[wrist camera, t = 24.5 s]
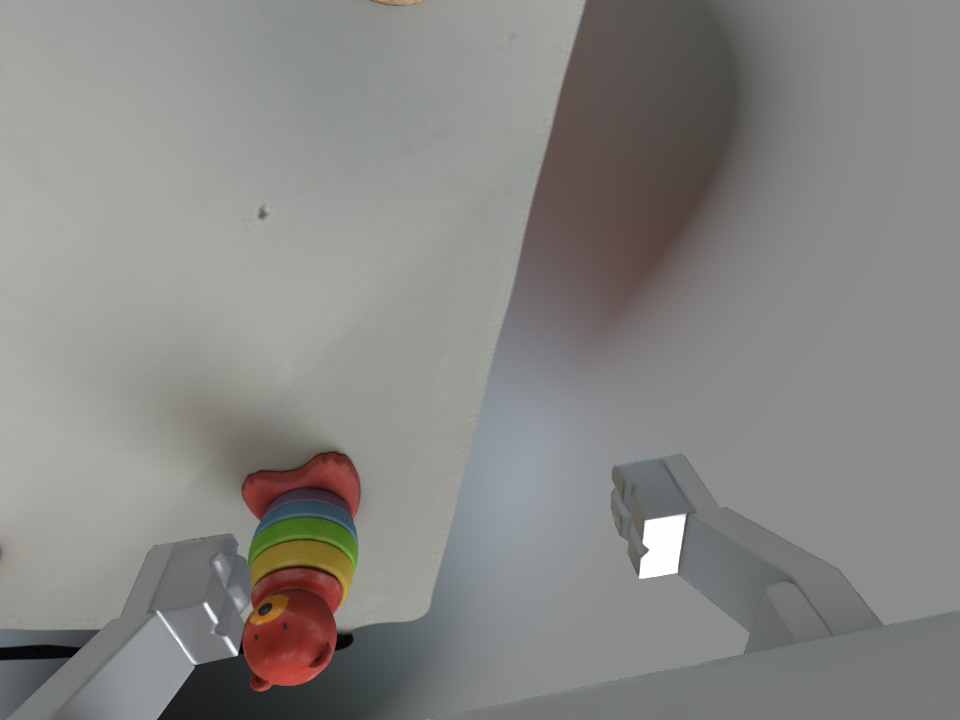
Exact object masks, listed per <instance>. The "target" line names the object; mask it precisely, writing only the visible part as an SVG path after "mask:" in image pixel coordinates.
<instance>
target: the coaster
mask: <svg viewBox="0 0 960 720" xmlns="http://www.w3.org/2000/svg"><path fill="white" fill-rule="evenodd" d="M371 1H373V2H377V3H381V4H385V5H394V6H398V5H409V4H414V3H418V2H421V1H423V0H371Z"/></svg>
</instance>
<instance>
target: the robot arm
mask: <svg viewBox="0 0 960 720" xmlns="http://www.w3.org/2000/svg"><path fill="white" fill-rule="evenodd" d="M612 480H613V482H614V485H615V487H616V488H615V489H614V490H613V491H612V492H611V509H612V515H613V519H614V522H615V525H616V528H617V530H618V532H619V535H620V536H621V537H623V538H624V539H626V540H627V541H628V551H627V553H628V555H629V557H630V559H631V562H632V564H633V566H634V568H635V570H636V573H637V575H638V577H639V579H641V578H647V577H653V576H660V575H666V574H672V573H678V572H679V573H678V575H680V576H681V577H682V578H683V579H684V580H686V581H687V582H688V583H689V584H691V585H692V586H693V587H694V588H695V589H697V590H698V591H699V592H700V593H702V594H703V595H704V596H705V597H707V598H708V599H709V600H711V601H712V602H713V603H714V604H715V605H716V606H718V607H719V608H720V609H721V610H723V611H724V612H725V613H726V614H728V615H729V616H730V617H731V618H732V619H734V620H735V621H736V622H737V623H739V624H740V625H741V626H742V627H743V628H745V629H746V630H747V631H748V632H750V635H749V638H748V642H747V644H746V647H745V651H744V654H742V655H738V656H733V657H728V658H723V659H718V660H713V661H709V662H703V663H698V664H693V665H689V666H684V667H679V668H674V669H669V670H664V671H659V672H654V673H649V674H645V675H640V676H635V677H630V678H625V679H620V680H615V681H610V682H605V683H600V684H595V685H591V686H586V687H581V688H576V689H571V690H566V691H561V692H556V693H551V694H546V695H541V696H537V697H532V698H527V699H522V700H517V701H512V702H507V703H502V704H498V705H493V706H487V707H483V708H478V709H473V710H468V711H463V712H458V713H453V714H448V715H443V716H439V717H434V718H429V719H425V720H960V610H958V611H953V612H948V613H943V614H939V615H934V616H929V617H924V618H919V619H914V620H910V621H904V622H900V623H895V624H890V625H885V626H884V625H883V624H882V622H881V621H880V620H879V619H878V617H877V616H876V615H875V614H874V612H873V611H872V610H871V609H870V607H869V606H868V605H867V604H866V603H865V601H864V600H863V599H862V597H861V596H860V595H859V594H858V592H857V591H856V590H855V589H854V587H853V586H852V585H851V584H850V583H849V581H848V580H847V579H846V577H845V576H844V575H843V574H842V573H841V571H840V570H839V569H838V568H836V567H834V566H832V565H831V564H828V563H827V562H825V561H823V560H822V559H820V558H818V557H816V556H814V555H813V554H811V553H809V552H807V551H805V550H803V549H802V548H800V547H798V546H796V545H794V544H793V543H791V542H789V541H787V540H785V539H784V538H782V537H780V536H778V535H776V534H775V533H773V532H771V531H769V530H767V529H765V528H764V527H762V526H760V525H758V524H756V523H755V522H753V521H751V520H749V519H747V518H746V517H744V516H742V515H740V514H738V513H736V512H735V511H733V510H731V509H729V508H727V507H725V508H720V507H719V506H718V504H717V503H716V501H715V500H714V498H713V497H712V495H711V494H710V492H709V491H708V490H707V488H706V487H705V485H704V484H703V482H702V481H701V479H700V478H699V476H698V475H697V473H696V472H695V470H694V469H693V468H692V466H691V464H690V463H689V461H688V460H687V458H686V457H685V456H684V455H682V454H675V455H669V456H664V457H659V458H653V459H647V460H642V461H636V462H631V463H626V464H620V465H615V466H614V467H613V469H612ZM238 545H239V544H238V543H237V541H236V539H235V537H234V536H233V534H224V535H217V536H210V537H204V538H197V539H190V540H184V541H179V542H173V543H167V544H160V545H154V546H153V547H152V548H151V549H150V550H149V551H148V553H147V555H146V558H145V560H144V562H143V565H142V567H141V569H140V572H139V574H138V576H137V578H136V581H135V583H134V585H133V588H132V590H131V592H130V595H129V597H128V599H127V602H126V604H125V606H124V609H123V611H122V613H121V616H120V618H119V619H114V620H111V621H110V622H109V623H108V624H107V625H106V626H105V627H104V628H103V629H102V630H101V631H99V632H98V633H97V634H96V635H95V636H94V637H93V638H92V639H91V640H90V641H89V642H88V643H87V644H86V645H85V646H84V647H82V648H81V649H80V650H79V651H78V652H77V653H76V654H75V655H74V656H73V657H72V658H71V659H70V660H69V661H68V662H67V663H66V664H65V665H63V666H62V667H61V668H60V669H59V670H58V671H57V672H56V673H55V674H54V675H53V676H52V677H51V678H50V679H49V680H48V681H46V682H45V683H44V684H43V685H42V686H41V687H40V688H39V689H38V690H37V691H36V692H35V693H34V694H33V695H32V696H31V697H29V698H28V699H27V700H26V701H25V702H24V703H23V704H22V705H21V706H20V707H19V708H18V709H17V710H16V711H15V712H14V713H12V714H11V715H10V716H9V717H8V718H7V719H6V720H157V718H158V717H159V716H160V714H161V713H162V711H163V710H164V709H165V707H166V706H167V705H168V703H169V702H170V701H171V699H172V698H173V696H174V695H175V694H176V692H177V691H178V690H179V688H180V687H181V685H182V684H183V683H184V681H185V680H186V678H187V677H188V676H189V675H190V673H191V672H192V671H193V669H194V665H196V664H201V663H205V662H210V661H215V660H219V659H223V658H228V657H233V656H237V655H238V652H239V648H240V643H241V639H242V634H243V630H244V626H245V624H244V622H243V620H242V618H241V616H240V614H241V613H242V612H243V611H244V609H245V608H246V607H247V606H248V605H249V603H250V598H251V593H252V575H251V571H250V567H249V564H248V562H247V560H246V558H244V557H242V556H240V555H238V554H236V553H237V549H238Z"/></svg>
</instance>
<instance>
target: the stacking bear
mask: <svg viewBox="0 0 960 720" xmlns="http://www.w3.org/2000/svg"><path fill="white" fill-rule="evenodd" d="M242 497H243V499H244V501H245V503H246V505H247V506H248V508H249V509H250V510H251V512H252V513H253V514H254V515H255V516H256V517H257V518H258V519H259V520H260V521H261V522H260V523H259V525H258V527H257V529H256V532H255V534H254V537H253V540H252V543H251V546H250V549H249V556H248V564H249V567H250V571H251V575H252V593H251V603H252V606H253V609H254V610H253V611H252V613H251V614H250V616H249V617H248V619H247V621H246V623H245V626H244V630H243V649H244V654H245V657H246V660H247V662H248V664H249V666H250V667H251V669H252V670H253V671H254V672H253V674H252V676H251V679H250V684H251V686H252V688H253V689H254V690H256V691H264V690H267V689H268V688H270V687H271V686H272V685H273V684H277V685H282V686H290V685H298V684H302V683H304V682H307V681H309V680H310V679H312V678H314V677H315V676H316V675H317V674H319V673H320V672H321V671H322V670H323V668H325V667H326V666H327V665H328V664H329V662H330V660H331V658H332V654H333V652H334V649H335V645H336V638H337V630H336V623H335V620H334V616H333V614H334V613H335V611H336V610H337V609H338V607H339V606H340V605H341V604H342V603H343V602H344V600H345V599H346V597H347V594H348V592H349V589H350V586H351V582H352V578H353V575H354V572H355V568H356V564H357V557H358V539H357V533H356V528H355V525H354V521H353V519H354V517H355V515H356V512H357V509H358V506H359V501H360V481H359V478H358V474H357V472H356V470H355V468H354V466H353V465H352V463H351V462H350V460H349V459H348V458H347V457H345V456H343V455H338V454H336V453H327V454H321V455H318V456H316V457H314V458H313V459H312V460H311V461H310V462H309V463H308V464H307V465H305V466H304V467H302V468H300V469H297V470H294V471H290V472H285V473H279V472H269V471H261V472H258V473H256V474H253V475H249V476H248V477H247V478H246V480H245V483H244V484H243V486H242Z"/></svg>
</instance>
